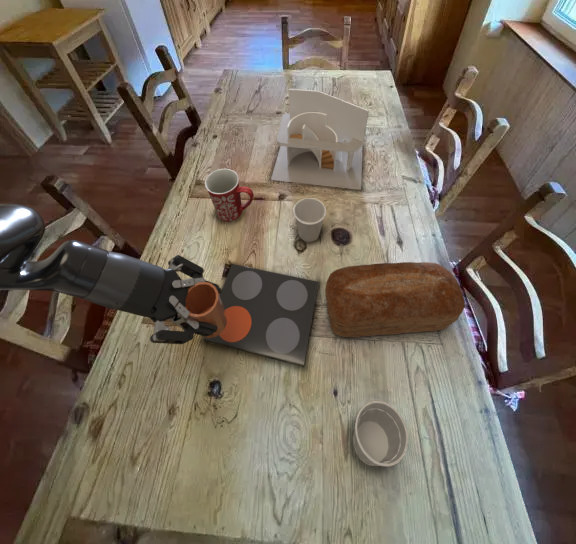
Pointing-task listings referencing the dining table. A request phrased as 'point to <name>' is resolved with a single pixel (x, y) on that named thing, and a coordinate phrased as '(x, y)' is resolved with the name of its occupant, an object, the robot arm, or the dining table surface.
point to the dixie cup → (309, 218)
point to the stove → (267, 314)
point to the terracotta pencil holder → (206, 306)
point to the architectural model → (321, 141)
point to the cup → (380, 435)
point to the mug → (227, 194)
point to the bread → (392, 299)
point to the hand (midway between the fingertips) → (216, 310)
